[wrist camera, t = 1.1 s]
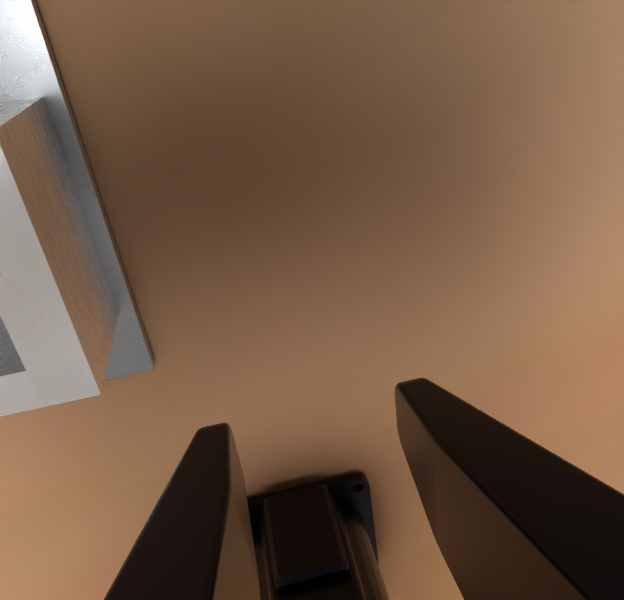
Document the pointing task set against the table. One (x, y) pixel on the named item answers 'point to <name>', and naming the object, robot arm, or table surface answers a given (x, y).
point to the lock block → (47, 272)
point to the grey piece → (70, 166)
